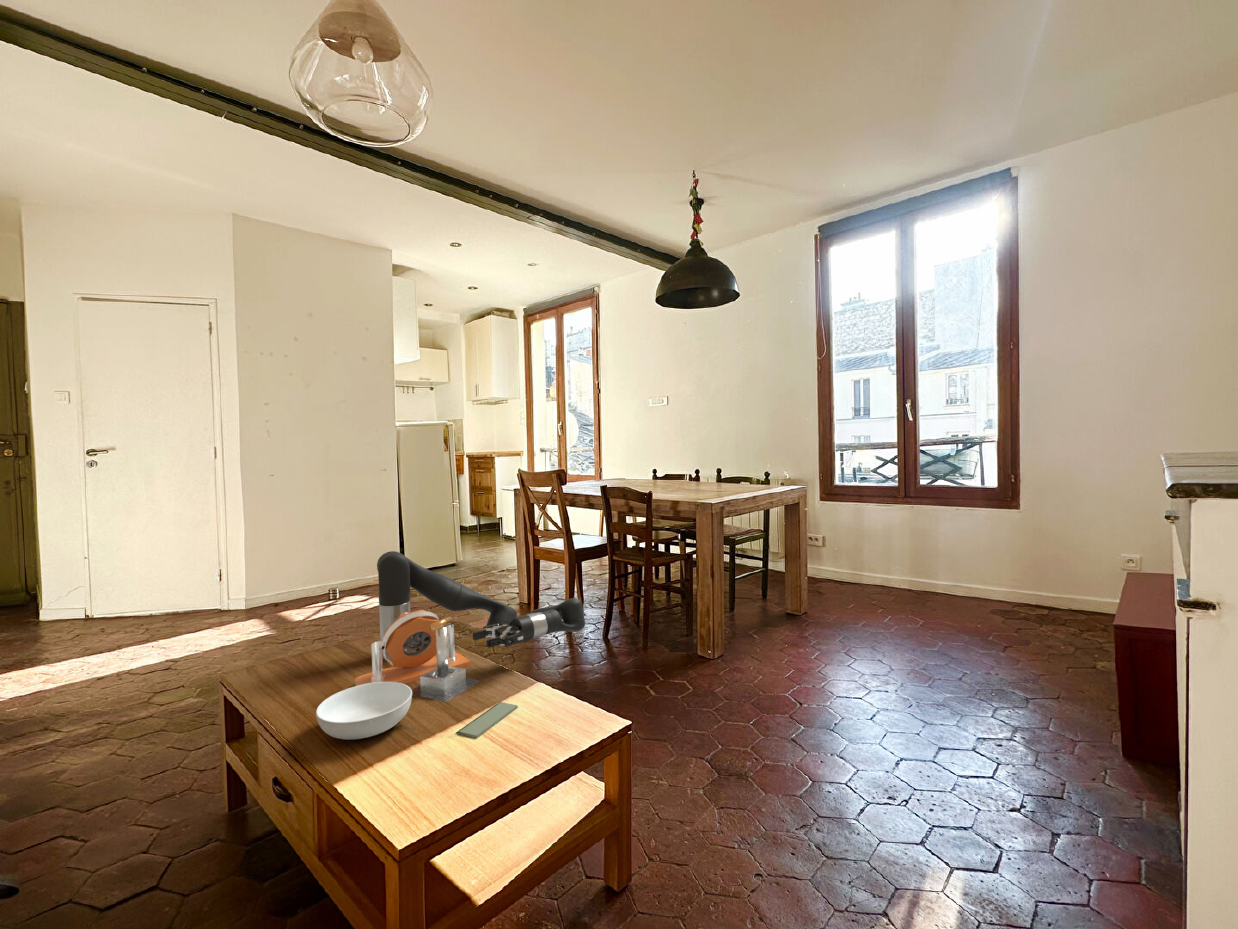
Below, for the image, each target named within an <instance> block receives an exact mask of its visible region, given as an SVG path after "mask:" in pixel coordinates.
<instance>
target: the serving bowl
mask: <svg viewBox="0 0 1238 929" xmlns="http://www.w3.org/2000/svg"><path fill="white" fill-rule="evenodd" d="M412 698H413V695H412V689H411V687H410V686H408V685H407V684H402V683H397V682H374V683H368V684H363V685H358V686H356V685H355V686H352V687H348V688H346V689H342V690H340V691H339V692H336V693H334V694H332V695H330V696H328V697H327V698H326V699H324V700H323V701H322V702H321V703H320V704H319V705H318V706H317V708H316V710H315V716H316V721H317V723H318V725H319V727H320V729H321V730H322V731H324V732H323V733H326V734H327V735H328V736H330V737H332V738H336V739H338V740H339V739H341V740H348V741H349V740H361V739H365V738H366V739H367V738H371V737H374V736H377V735H379V734H383V733H384V732H386V731H388V730H390V729H391V728H393V727H395V726H396V725H397V724H398V723H399V722H400V721H402V719H404V717H405V716H406V714H407V713H408V711H409V709H410V707H411V703H412V701H413V699H412Z"/></svg>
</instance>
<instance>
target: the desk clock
mask: <svg viewBox="0 0 1238 929" xmlns="http://www.w3.org/2000/svg"><path fill="white" fill-rule="evenodd" d="M441 619H442V618H440V616H439V615H438V614H436V613H435V612H434V613H433V612H431V611H427V610H424V609H419V610H414V611H412V612H411V611H410V613H403V614H401V615H400V616H399V617H398V618H397V619H396V621H395V622H394V623H392V624H391V625H390V626H389V627H388V628H387V629H386V631H385V636H384V637H383V641H381V640H378V641H374V642H373V643H371V644H370V648H371V669H372V672H368V673H365V674H361V675H359V676H357V677H356V678H355V679H354V680H355V682H354V683H355V686H358V685H363V684H368V683H374V682H397V683H402V684H405V685H407V684H410V683H413V682H417V681H420V676H421V675H423V674H425V673H427V672H429V671H431V670H433V669H435V668H437V655H436V632H435V631H430V630H429V625H430V624H432V623H434V622H437V621H439V620H441ZM446 626H447V642H448V666H452V667H458V668H463V669H464V668H466V667H470V666H471V664H472V663H471V662H472V661H471V660H469V659H468V658H467V657H465V655H464V656H463V655H462V654H460V653H459V652H457V651H456V649H455V648H456V647H455V625H454V624H452V623H451V624H448V625H446ZM385 650H386V653H387V654H388V656H389V657H390V659H391V660H389V659H387V658H386V655H385ZM382 654H383V656H384V658H385V659H386V660H385V659H382ZM384 660H385V661H386V662H387V663H388V665H390V666H391V667H388V668H383V667H384V663H383V661H384Z"/></svg>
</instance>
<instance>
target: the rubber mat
mask: <svg viewBox="0 0 1238 929" xmlns="http://www.w3.org/2000/svg"><path fill="white" fill-rule="evenodd" d="M518 708H519V707H518V705H517V704H512V703H508V702H503V701H499V702H497V703H496V704H494V705H493V706H492V707H490V708H489V709H488V710H486V711H484V712H483V713H481V714H480V715H479V716H477V717H476V718H475V719H473V720H471V721H470V722H469V723H467V724H466V725H464V726H463V727H461V728H460V729H459V730H458V731H456V732H455V734H458V735H461V736H467V737H470V738H474V739H478V738H479V737H480V736H482V735H483V734H485V733H486V732H487V731H489V730H490V729H491V728H493V727H494V726H495V725H497V724H498V723H499V722H501V721H502V720H503V719H504V718H506V717H507V716H509V715H510V714H511V713H512V712H514V711H516V710H517V709H518Z"/></svg>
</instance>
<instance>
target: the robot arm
mask: <svg viewBox="0 0 1238 929" xmlns="http://www.w3.org/2000/svg"><path fill="white" fill-rule="evenodd" d="M376 569H377V573H378V577H377V578H378V609H379V630H380V631H379V632H380V633H379V634H380V635H379V636H380V641H383V637H384V636H385V631H386V629H387V628H388V627H389V626H390V625H391V624H392V623H394V622H395V621H396V619H397V618H398V617H399V616H400V615H401V614H403V613H410V612H411V596H410V595H411V588H412V589H413V590H415V591H417V592H418V593H419V594H420V595H422V596H424V597H425V598H426V599H428V600H429V601H431V602H433V604H436V605H438V606H440V607H442V608H444V609H445V610H449V611H451V612H462V611H467V610H473V609H475V610H476V609H478V610H479V609H480V610H483V611H484V610H485V611H487V612H489V613H490V614H489V617H488V619H487V622H486V625H485V626H483V627H482V628H483V629H482V630H478V631H474V632H473V633H472V640H473V641H478V640H482V639H485V638H489V639H487V640H486V641H485V642H486V643H485V644H486V648H488V649H490V648H493V647H497V646H504V647H507V648H508V647H511V646H513V645H517V644H520V643H524V642H528V641H532V640H534V639H538V638H540V637H543V636H545V635H550V634H553V633H557V632H559V633H560V632H569V633H578V632H580V631H582V630H583V629H584V628H585V626H586V619H585V613H584V608H583V602H582V601H581V600H580V599H579V598H575V597H572V598H568V599H566V600H564V601H563V602H560V603H558V604H557V605H553V606H552V605H551V606H547V607H546V606H545V607H539V608H537V609H534V610H532V611H530V612H528V613H527V614H524V615H519V616H518V612H517V610H516V608H513V607H511V606H510V605H508V604H506V603H503V602H500V601H498V600H496V599H493V598H491V597H488V596H486V595H484V594H481V593H479V592H478V591H475V590H473V589H471V588H470V587H467V585H463V584H462V583H460V582H459V581H456V580H454V579H452V578H450V577H447V576H445V575H442V574H441V573H438V572H435V571H432V570H429V569H427V568H425V567H424V566H421V565H420V564H417V563H416V562H414V561H413V560H412V559H410V558H408V557H407V556H405V555H404V554H403V553H401V552H399V551H393V550H392V551H388V552H385V553H383V554H382V555H381V556H380V557H379V558H378V559H377V563H376ZM385 655H386V658H387V659H389V660H390V661H391V659H390V657H389V656H388V654H387V653H386V650H385ZM382 659H383V660H385V661H386V659H385V658H384V656H383V654H382Z"/></svg>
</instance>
